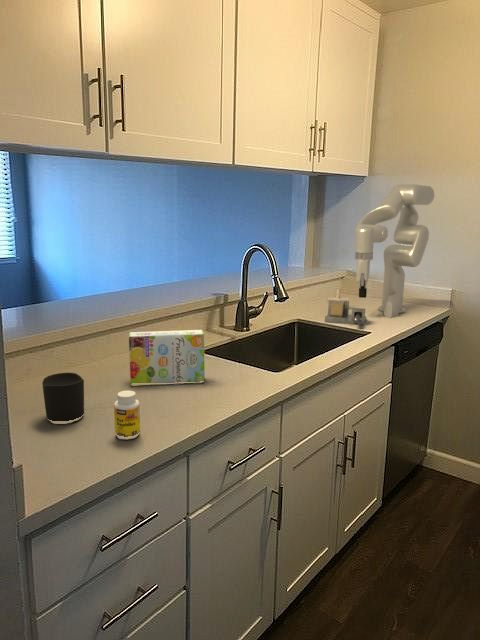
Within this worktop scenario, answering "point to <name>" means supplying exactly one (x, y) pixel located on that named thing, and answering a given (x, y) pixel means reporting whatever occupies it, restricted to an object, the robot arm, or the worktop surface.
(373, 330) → the worktop surface
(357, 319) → the lock pin
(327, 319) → the bracket
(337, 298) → the pipe connector
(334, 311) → the block
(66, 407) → the pen holder
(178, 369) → the snack box
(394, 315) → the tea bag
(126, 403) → the supplement bottle
